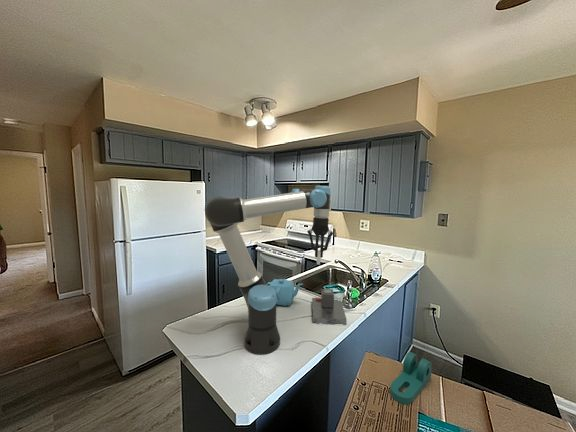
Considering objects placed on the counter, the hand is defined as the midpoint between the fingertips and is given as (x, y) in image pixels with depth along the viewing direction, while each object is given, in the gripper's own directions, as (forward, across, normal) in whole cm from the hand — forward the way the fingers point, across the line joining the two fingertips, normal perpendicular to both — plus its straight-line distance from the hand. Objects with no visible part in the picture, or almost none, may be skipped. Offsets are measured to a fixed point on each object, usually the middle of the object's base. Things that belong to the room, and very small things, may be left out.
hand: (318, 263), depth 125 cm
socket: (+28, -7, -4) cm, 29 cm away
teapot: (+28, +17, -14) cm, 36 cm away
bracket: (+28, -29, +44) cm, 59 cm away
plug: (+27, -7, -7) cm, 29 cm away
